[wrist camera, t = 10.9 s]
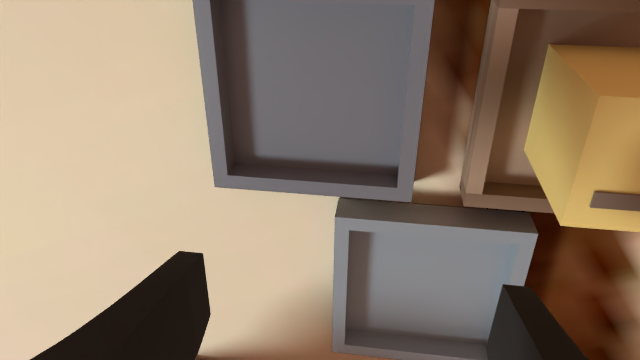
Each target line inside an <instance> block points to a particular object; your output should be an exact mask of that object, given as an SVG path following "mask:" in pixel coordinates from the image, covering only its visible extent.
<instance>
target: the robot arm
mask: <svg viewBox="0 0 640 360" xmlns="http://www.w3.org/2000/svg"><path fill="white" fill-rule="evenodd" d="M209 318H210V306H209V298H208V290H207V282H206V274H205V266H204V258H203V253H194V252H184V251H179V252H178V253H176V254H175V255H174V256H172V257H171V258H170V259H169V260H167V261H166V262H165V263H164V264H163V265H161V266H160V267H159V268H158V269H156V270H155V271H154V272H153V273H152V274H150V275H149V276H148V277H147V278H145V279H144V280H143V281H142V282H140V283H139V284H138V285H137V286H135V287H134V288H133V289H132V290H130V291H129V292H128V293H127V294H125V295H124V296H123V297H121V298H120V299H119V300H118V301H116V302H115V303H114V304H113V305H111V306H110V307H108V308H107V309H106V310H104V311H103V312H102V313H100V314H99V315H97V316H96V317H95V318H93V319H92V320H90V321H89V322H88V323H86V324H85V325H83V326H82V327H81V328H79V329H78V330H76V331H75V332H73V333H72V334H71V335H69V336H68V337H66V338H64V339H63V340H61V341H60V342H58V343H57V344H55V345H53V346H52V347H50V348H49V349H47V350H45V351H44V352H42V353H40V354H39V355H37V356H35V357H34V358H32V359H30V360H195V358H196V356H197V354H198V351H199V348H200V345H201V343H202V340H203V337H204V334H205V330H206V327H207V324H208V321H209ZM486 348H487V358H488V360H588V358H587V357H586V356H585V355H584V354H583V352H582V351H581V350H580V349H579V348H578V347H577V345H576V344H575V343H574V342H573V340H572V339H571V338H570V337H569V336H568V334H567V333H566V332H565V331H564V329H563V328H562V327H561V326H560V324H559V323H558V322H557V320H556V319H555V318H554V317H553V315H552V314H551V313H550V312H549V310H548V309H547V308H546V306H545V305H544V304H543V302H542V301H541V300H540V299H539V297H538V296H537V295H536V294H535V292H534V291H533V290H532V289H531V287H526V286H516V285H507V284H503V285H502V289H501V293H500V296H499V300H498V304H497V308H496V312H495V315H494V319H493V323H492V327H491V330H490V334H489V338H488V342H487V346H486Z"/></svg>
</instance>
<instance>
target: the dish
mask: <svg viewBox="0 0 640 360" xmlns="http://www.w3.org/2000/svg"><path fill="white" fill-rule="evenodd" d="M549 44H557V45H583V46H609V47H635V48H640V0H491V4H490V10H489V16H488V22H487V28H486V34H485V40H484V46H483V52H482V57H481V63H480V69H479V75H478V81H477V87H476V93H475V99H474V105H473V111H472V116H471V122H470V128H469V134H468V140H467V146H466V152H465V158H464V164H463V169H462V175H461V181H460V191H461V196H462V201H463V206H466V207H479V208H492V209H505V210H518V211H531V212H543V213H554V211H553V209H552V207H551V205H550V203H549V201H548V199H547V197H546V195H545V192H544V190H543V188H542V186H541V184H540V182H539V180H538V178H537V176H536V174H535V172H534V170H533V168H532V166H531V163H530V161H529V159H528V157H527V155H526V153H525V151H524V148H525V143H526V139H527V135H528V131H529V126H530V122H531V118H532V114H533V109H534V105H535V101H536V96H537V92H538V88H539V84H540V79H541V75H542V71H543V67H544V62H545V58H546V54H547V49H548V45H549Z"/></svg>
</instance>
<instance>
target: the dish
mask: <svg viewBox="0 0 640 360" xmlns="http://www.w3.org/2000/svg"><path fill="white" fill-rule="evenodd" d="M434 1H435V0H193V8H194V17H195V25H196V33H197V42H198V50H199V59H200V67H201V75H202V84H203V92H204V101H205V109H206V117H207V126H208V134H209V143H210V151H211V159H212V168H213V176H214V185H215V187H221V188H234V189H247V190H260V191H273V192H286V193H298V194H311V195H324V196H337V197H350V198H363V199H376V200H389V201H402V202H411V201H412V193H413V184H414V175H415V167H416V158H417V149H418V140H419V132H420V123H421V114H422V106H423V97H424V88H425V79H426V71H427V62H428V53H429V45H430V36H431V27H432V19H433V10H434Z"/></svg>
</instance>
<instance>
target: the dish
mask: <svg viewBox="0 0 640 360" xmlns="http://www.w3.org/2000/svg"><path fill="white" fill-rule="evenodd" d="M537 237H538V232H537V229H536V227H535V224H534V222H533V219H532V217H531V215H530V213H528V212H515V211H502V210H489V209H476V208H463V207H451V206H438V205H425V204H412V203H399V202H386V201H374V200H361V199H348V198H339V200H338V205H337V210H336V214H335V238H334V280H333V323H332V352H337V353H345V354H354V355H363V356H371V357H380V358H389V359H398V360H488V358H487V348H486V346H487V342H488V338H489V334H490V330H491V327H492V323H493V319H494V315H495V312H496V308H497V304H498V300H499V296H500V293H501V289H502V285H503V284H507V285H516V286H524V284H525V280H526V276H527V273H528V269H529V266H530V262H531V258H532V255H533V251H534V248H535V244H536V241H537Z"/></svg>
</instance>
